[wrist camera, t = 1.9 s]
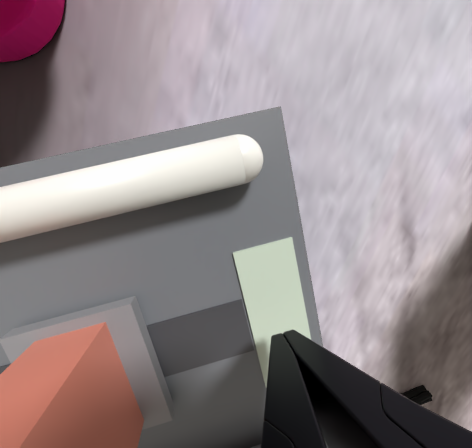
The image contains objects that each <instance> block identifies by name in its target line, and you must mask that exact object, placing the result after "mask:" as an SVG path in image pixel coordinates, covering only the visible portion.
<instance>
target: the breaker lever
mask: <svg viewBox="0 0 472 448" xmlns="http://www.w3.org/2000/svg"><path fill="white" fill-rule="evenodd" d="M0 343H1V345H2V347H3V349H4V351H5V353H6V355H7V357H8V359H9V361H10V363H11V365H10V366H9V367H8V368H6V369H5V370H4V371H3V372H2V373H1V374H0V448H137V447H138V443H139V439H140V435H141V431H142V430H143V429H147V428H150V427H153V426H156V425H159V424H163V423H166V422H169V421H172V420H173V414H174V404H173V401H172V398H171V395H170V392H169V389H168V386H167V384H166V381H165V378H164V375H163V372H162V369H161V367H160V364H159V361H158V358H157V355H156V352H155V350H154V347H153V344H152V341H151V338H150V335H149V333H148V330H147V327H146V324H145V321H144V318H143V316H142V313H141V310H140V307H139V304H138V301H137V299H136V296H133V297H129V298H125V299H122V300H118V301H114V302H110V303H107V304H103V305H99V306H96V307H92V308H88V309H84V310H81V311H77V312H73V313H70V314H66V315H62V316H59V317H55V318H51V319H47V320H44V321H40V322H36V323H33V324H29V325H25V326H21V327H18V328H14V329H12V330H11V331H9V332H8V333H7V334H6V335H4V336H3V337H2V338H0Z"/></svg>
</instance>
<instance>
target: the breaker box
mask: <svg viewBox="0 0 472 448" xmlns="http://www.w3.org/2000/svg"><path fill="white" fill-rule="evenodd" d="M133 296H136V299H137V301H138V304H139V307H140V310H141V313H142V316H143V318H144V321H145V324H146V327H147V330H148V333H149V335H150V338H151V341H152V344H153V347H154V350H155V352H156V355H157V358H158V361H159V364H160V367H161V369H162V372H163V375H164V378H165V381H166V384H167V386H168V389H169V392H170V395H171V398H172V401H173V404H174V414H173V420H172V421H169V422H166V423H163V424H159V425H156V426H153V427H150V428H147V429H143V430H142V431H141V435H140V439H139V443H138V447H137V448H260V447H261V439H262V430H263V422H264V409H265V398H266V387H267V376H268V365H269V354H270V343H271V336H272V335H275V334H279V333H282V334H283V332H285V331H289V330H292V329H293V330H296V331H297V332H299V333H301V334H302V335H304V336H305V337H307V338H309V339H310V340H312V341H314V342H315V343H317V344H319V345H320V346H322V347H323V344H322V338H321V332H320V326H319V321H318V315H317V309H316V304H315V298H314V292H313V287H312V281H311V275H310V270H309V264H308V258H307V253H306V247H305V241H304V236H303V230H302V224H301V218H300V213H299V207H298V201H297V196H296V190H295V184H294V179H293V173H292V167H291V162H290V156H289V150H288V145H287V139H286V133H285V128H284V122H283V116H282V111H281V107H276V108H271V109H267V110H262V111H258V112H253V113H248V114H244V115H239V116H235V117H230V118H225V119H221V120H216V121H212V122H207V123H203V124H198V125H193V126H189V127H184V128H180V129H175V130H170V131H166V132H161V133H157V134H152V135H148V136H143V137H138V138H134V139H129V140H125V141H120V142H115V143H111V144H106V145H102V146H97V147H93V148H88V149H83V150H79V151H74V152H70V153H65V154H60V155H56V156H51V157H47V158H42V159H38V160H33V161H28V162H24V163H19V164H15V165H10V166H5V167H1V168H0V338H2V337H3V336H4V335H6V334H7V333H8V332H9V331H11V330H12V329H14V328H18V327H21V326H25V325H29V324H33V323H36V322H40V321H44V320H47V319H51V318H55V317H59V316H62V315H66V314H70V313H73V312H77V311H81V310H84V309H88V308H92V307H96V306H99V305H103V304H107V303H110V302H114V301H118V300H122V299H125V298H129V297H133ZM10 365H11V363H10V361H9V359H8V357H7V355H6V353H5V351H4V349H3V347H2V345H1V343H0V374H1V373H2V372H3V371H4V370H5V369H6V368H8V367H9V366H10ZM325 443H326V441H325ZM326 446H327V448H329V447H328V445H327V443H326Z"/></svg>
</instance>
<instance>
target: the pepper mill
mask: <svg viewBox="0 0 472 448" xmlns="http://www.w3.org/2000/svg"><path fill="white" fill-rule="evenodd" d="M64 4H65V0H0V62H8V61H17V60H21V59H23V58H26V57H28V56H30V55H33V54H35V53H37V52H38V51H40V50H41V49H42V48H43V47H44V46H45V45H46V44H47V43H48V42H49V41H50V40H51V39H52V37H53V35H54V34H55V32H56V30H57V28H58V27H59V25H60V23H61V20H62V16H63V12H64Z"/></svg>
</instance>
